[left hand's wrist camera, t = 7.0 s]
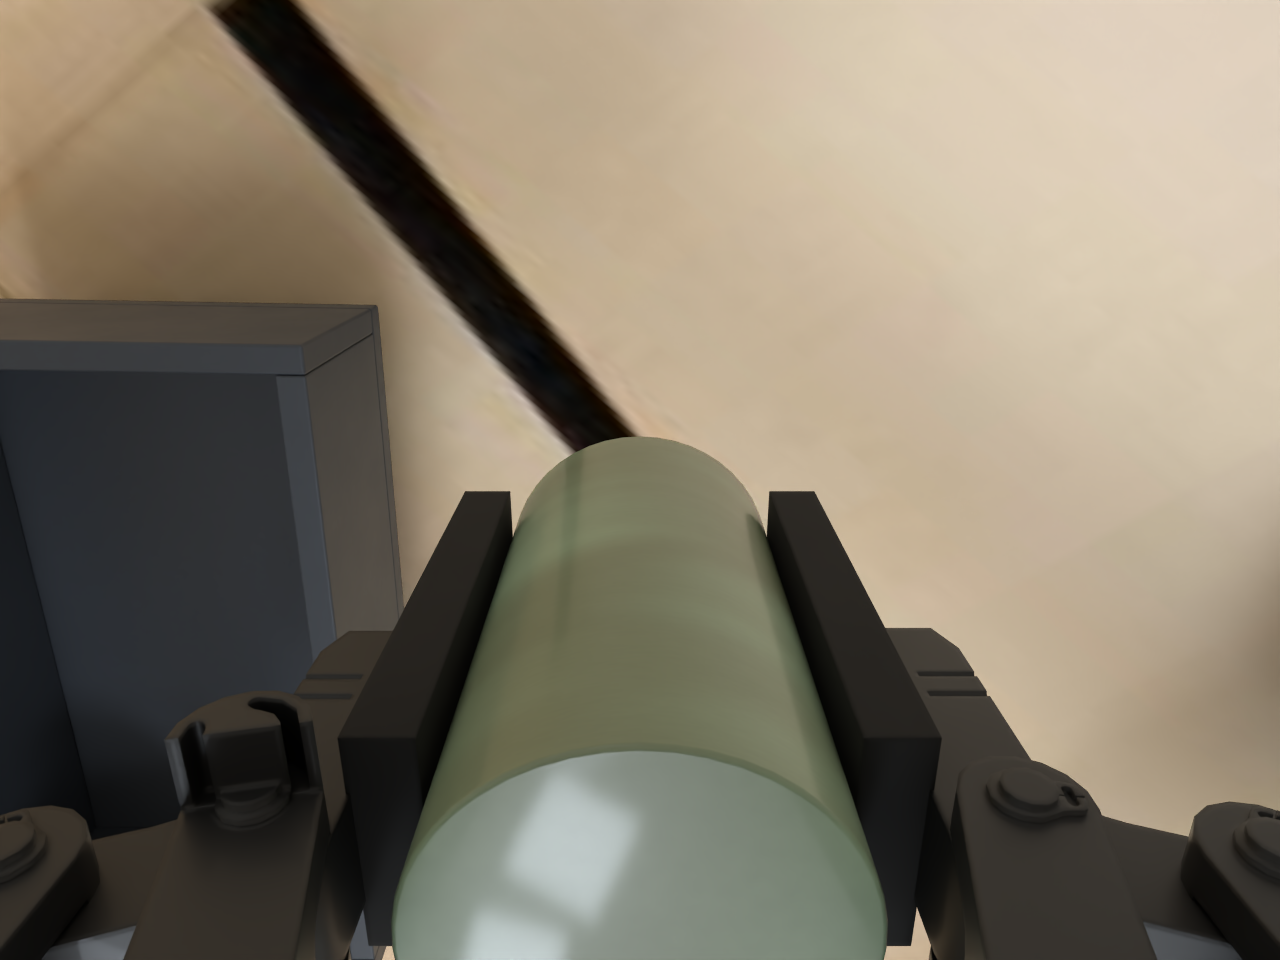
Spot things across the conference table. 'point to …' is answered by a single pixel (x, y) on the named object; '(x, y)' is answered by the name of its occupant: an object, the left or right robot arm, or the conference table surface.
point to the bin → (178, 530)
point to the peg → (639, 743)
